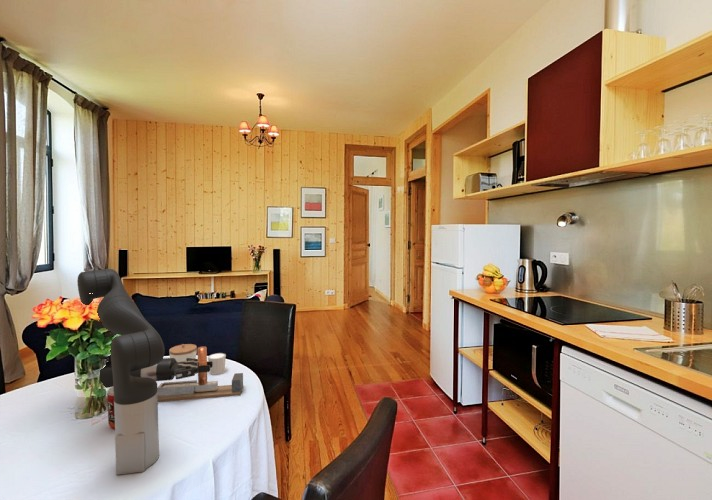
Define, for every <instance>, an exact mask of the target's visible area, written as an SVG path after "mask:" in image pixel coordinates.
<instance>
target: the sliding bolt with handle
mask: <svg viewBox="0 0 712 500" xmlns="http://www.w3.org/2000/svg"><path fill="white" fill-rule="evenodd" d="M207 349H208V348H207V346H198V347H197V359H198V367H199V366H203V365H207V361H208V352H207ZM218 383H219V381H218V380H216V381H215V380H213V381H212V380H211V381H208V372H200V373H199V372H198V373H197V383H183V384H169V385H164V386H163V387H171V386H185V385H194V392H202V391H215V390H217V388H218V386H219V385H218Z"/></svg>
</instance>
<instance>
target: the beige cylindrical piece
mask: <svg viewBox="0 0 712 500" xmlns="http://www.w3.org/2000/svg"><path fill="white" fill-rule="evenodd" d="M226 357H227V354H226V353H223V352H217V353H212V354H210V355H208V356H207V361H212V362H213V366H212V368H210V371H209V374H210V375H212V376H219V375H221V374H224V373H225V371H226V370H225V369H226Z"/></svg>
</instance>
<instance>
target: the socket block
mask: <svg viewBox="0 0 712 500" xmlns="http://www.w3.org/2000/svg"><path fill="white" fill-rule="evenodd" d="M231 385H232V393H236V392H241V390H242V391H243V389H242V387H243V388H244V372H239V373H234V374H233V377H232V379H231ZM241 393H242V392H241Z"/></svg>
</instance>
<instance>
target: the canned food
mask: <svg viewBox="0 0 712 500" xmlns="http://www.w3.org/2000/svg"><path fill="white" fill-rule="evenodd" d="M106 397H107V415H108V416H107V420H108V421H107V422H108V426H109V428H110V429H113V430H115V414H114V413H115V412H114V389H113V387H109V388H108V389H107V396H106Z"/></svg>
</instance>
